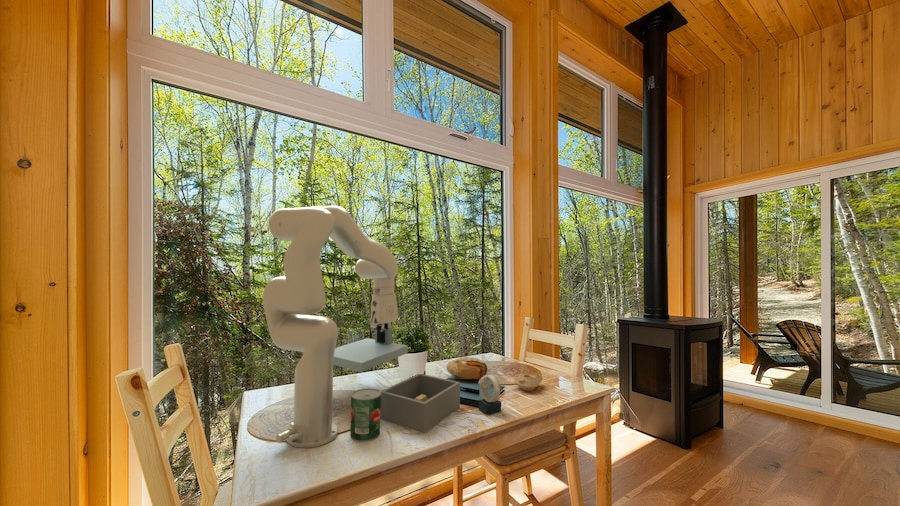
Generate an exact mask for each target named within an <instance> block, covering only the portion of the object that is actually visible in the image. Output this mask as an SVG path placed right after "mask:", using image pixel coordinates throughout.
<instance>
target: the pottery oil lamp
mask: <svg viewBox="0 0 900 506" xmlns="http://www.w3.org/2000/svg"><path fill="white" fill-rule="evenodd" d="M542 381H543V376H542V375H541V374H537V373H536V374H535V373H530V374H520V375H518V376H517V377H516V378H515V379H514V381H513V382H514V384H516V386H517V387H519V388H520V389H522V390H523V391H525V392H533V391H534V390H535V389H536V388H537V387H538V386H540V383H541V382H542Z"/></svg>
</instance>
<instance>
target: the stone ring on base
mask: <svg viewBox="0 0 900 506" xmlns="http://www.w3.org/2000/svg"><path fill="white" fill-rule="evenodd" d="M477 383H478V385H479V390H480V393H481V396H482V397H483V398H482V399H478V411H480V412H481V413H483V415H485V416H489V415H494V414H498V413H502V401H501V400H499V398H500V395H501V386H500V383H499V379H498V378H497V377H496V375H493V374H488V375H487V374H486V375H485V376H483V377H482V378H481V379H480V380H478V382H477ZM492 383H493V384H492ZM491 385H493V392H492V395H491V396H490V394H489V389H490V387H491Z"/></svg>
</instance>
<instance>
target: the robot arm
mask: <svg viewBox="0 0 900 506" xmlns="http://www.w3.org/2000/svg"><path fill="white" fill-rule="evenodd" d="M268 229H269V232H270V233H271V235H272V236H273V237H274V238H276V239H278V240H280V241H282V242H283V241H284V242H285V241H286V242H288V241H289V242H290V241H291V243H289V245H288V246H287V249H286V251H285V252H284V256H283V263H282V264H283V271H284V276H276V277H274V278H272V279H270V280H269V281H268V282H267V284H266V285H265V287H264V289H263V292H262V305H263V306H262V307H263V311H264V315H265V319H266V323H267V327H268V332H269V335H270V338H271V340H272V343H273V344H274V346H276V347H277V348H279V349H282V350H286V351H287V350H288V351H295V352H301V353H302V356H301V358H300V359H299V361H298V362H297V364H296V366H295V370H294V390H293V391H294V393H293V397H294V398H293V400H294V401H293V421H292V422H290V424H289V427H288V428H287V430H286V431H283V432H280V433H278V434H276V435H275V440H276V442H277V443H282V442H283V441H285V440H286V441H287V443H288V444H289V445H290V446H293V447H294V448H295V447H296V448H300V449H302V448H304V449H305V448H308V449H309V448H316V447H320V446H323V445H325V444H328V443H330V442H331V441H333V440H334V439H335V438H336V437H337V435H338V433H339V429H338V428H339V427H338V425H336V424H335V423H334V422H333V396H334V395H333V394H334V391H333V389H334V388H333V387H334V365H333V362H334V353H335V348H337V347H336V346H337V342H338V337H339V328H338V325H337V323H336V322H335V321H334V320H333V319H332V318H329V317H326V316H324V315H323V316H321V315H315V314H319V313H320V312H321V311H323V310H324V308H325V306H326V302H327V301H326V300H327V298H326V292H325V291H326V290H325V285H324V277H323V274H322V268H321V254H322V251H323V248H324V246H325V245H326V244H325V243H326V242H327V241H328V239H329V238H330V239H331V240H332V242H334V243H335V245H336V246H337V247H338V248H339V249H340V250H341V252H342V253H343V254H344V255H346V256H348V257H350V258H354V259H358V260H357V262H356V264H355V267H354V268H355V273H356V275H357V276H358V277H360V278H362V279H368V280H373V281H372V283H373V284H372V285H373V287H372V293H373V294H372V296H371V297H372V298H371V303H370V304H371V305H370V321H371V323H370V327H371V328H374V330H375V329H376V331H377V342H380V343H385V332H383V331H384V329H390V330H392V326H393V324H394V323H395V322H396V321H397V320H398V303H397V297H396V293H395V277H396V276H397V275H398V272H399V266H398V262H397V260H396V258H395V256H394V254H393V253H392V252H391V250H390V249H389V248H388V247H386V245H384V244H382V243H380V242H378V241H377V240H374V239H373V238H371V237H369V236H367V235H366V234H365V233H364V232H363V231H362V229H361V228H360V227H359V225H358V224H357V222H356V221H355V219H354V218H353V216H352V215H351V214H350V213H349V211H348V210H346V209H345V208H344V207H342V206H339V205H323V206H322V205H316V206H305V207H290V208H289V207H287V208H286V207H284V208H278V209H276V210H275V211H273V213H271V215H270V216H269V219H268Z"/></svg>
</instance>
